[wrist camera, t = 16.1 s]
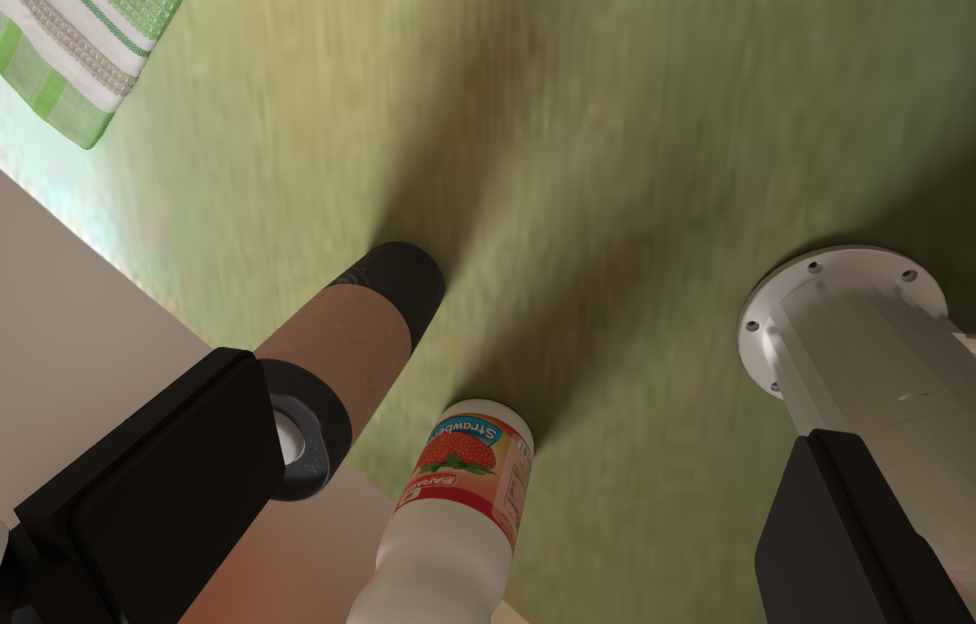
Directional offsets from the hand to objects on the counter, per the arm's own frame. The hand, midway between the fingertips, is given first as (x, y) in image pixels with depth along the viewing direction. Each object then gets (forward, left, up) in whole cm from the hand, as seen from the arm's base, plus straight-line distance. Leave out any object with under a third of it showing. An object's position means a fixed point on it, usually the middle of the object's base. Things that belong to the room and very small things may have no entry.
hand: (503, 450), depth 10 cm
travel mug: (+14, +12, -31) cm, 36 cm away
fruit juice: (+7, +27, -31) cm, 41 cm away
